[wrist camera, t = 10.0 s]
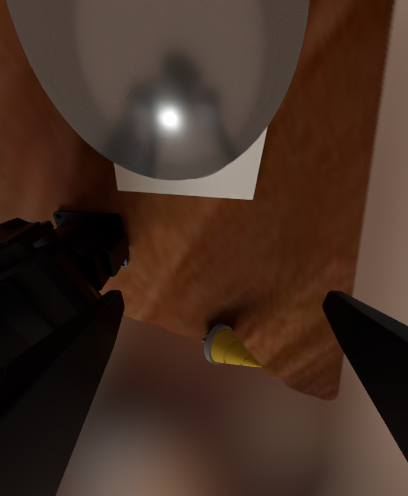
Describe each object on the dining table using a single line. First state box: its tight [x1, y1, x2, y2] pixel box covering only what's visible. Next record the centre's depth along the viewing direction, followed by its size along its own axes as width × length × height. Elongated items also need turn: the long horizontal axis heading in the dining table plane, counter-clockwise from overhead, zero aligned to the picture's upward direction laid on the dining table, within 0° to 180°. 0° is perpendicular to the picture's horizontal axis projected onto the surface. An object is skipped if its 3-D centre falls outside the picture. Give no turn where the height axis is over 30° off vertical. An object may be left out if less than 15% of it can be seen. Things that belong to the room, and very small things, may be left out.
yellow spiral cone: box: [201, 324, 262, 367], centre depth 25 cm, size 5×5×10 cm
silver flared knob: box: [6, 0, 309, 180], centre depth 6 cm, size 6×6×5 cm
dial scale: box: [114, 126, 268, 200], centre depth 11 cm, size 12×16×7 cm
